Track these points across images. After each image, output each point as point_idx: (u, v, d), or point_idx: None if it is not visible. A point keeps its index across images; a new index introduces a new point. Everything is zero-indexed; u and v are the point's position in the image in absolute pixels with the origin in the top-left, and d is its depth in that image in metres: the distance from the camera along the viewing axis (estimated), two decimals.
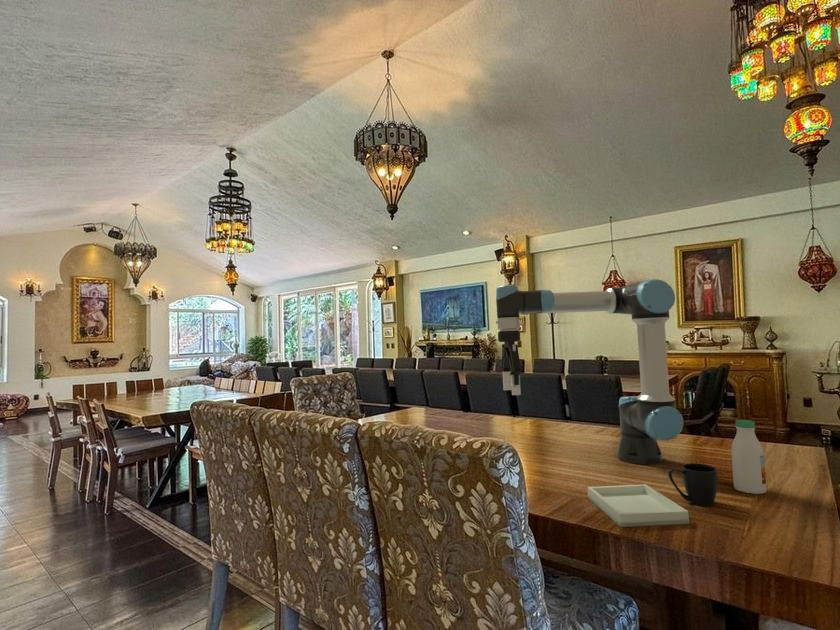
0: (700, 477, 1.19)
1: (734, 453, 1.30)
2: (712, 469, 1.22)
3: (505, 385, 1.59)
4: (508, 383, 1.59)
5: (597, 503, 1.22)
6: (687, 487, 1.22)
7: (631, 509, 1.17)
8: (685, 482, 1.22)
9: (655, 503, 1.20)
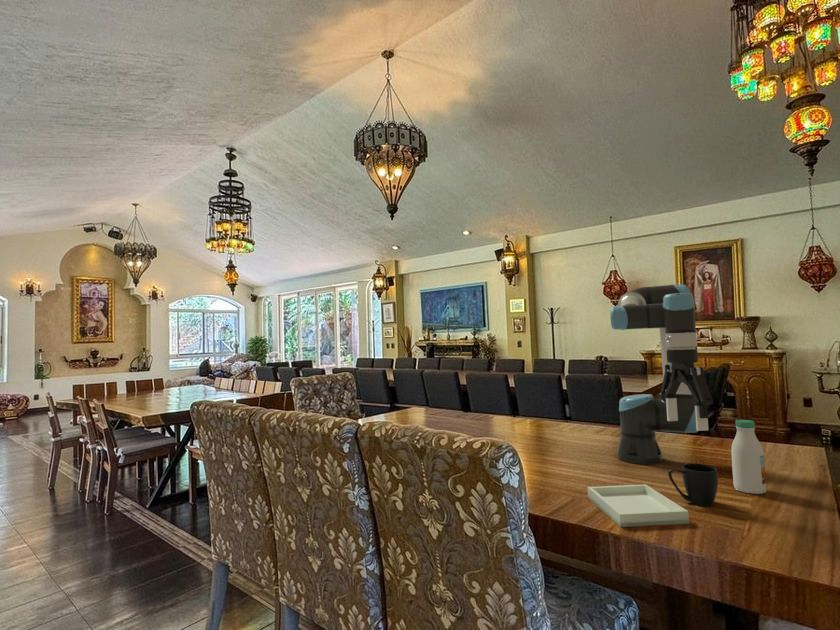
0: (700, 477, 1.19)
1: (734, 453, 1.30)
2: (712, 469, 1.22)
3: (670, 415, 1.30)
4: (674, 412, 1.30)
5: (597, 503, 1.22)
6: (687, 487, 1.22)
7: (631, 509, 1.17)
8: (685, 482, 1.22)
9: (655, 503, 1.20)
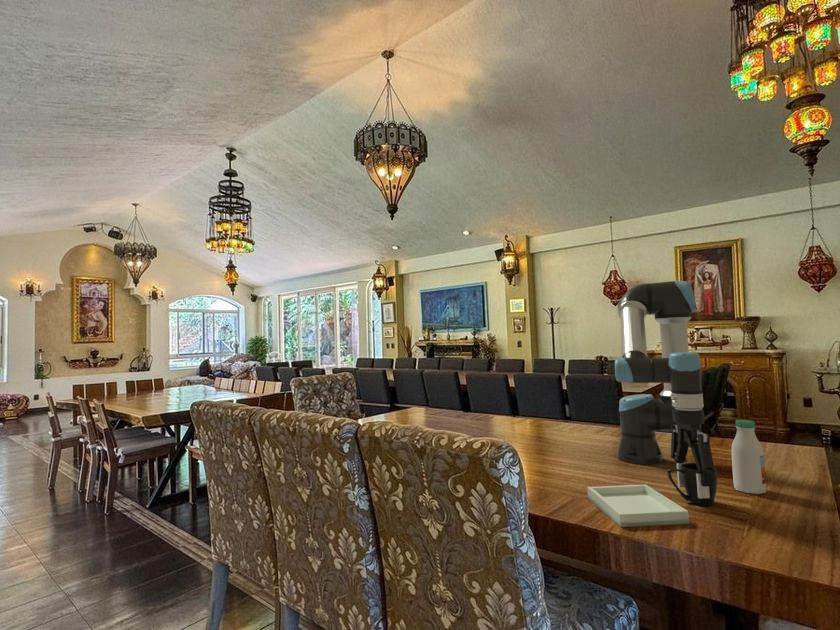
0: None
1: (734, 453, 1.30)
2: None
3: (681, 481, 1.26)
4: None
5: (597, 503, 1.22)
6: (687, 486, 1.22)
7: (631, 509, 1.17)
8: (684, 481, 1.23)
9: (655, 503, 1.20)
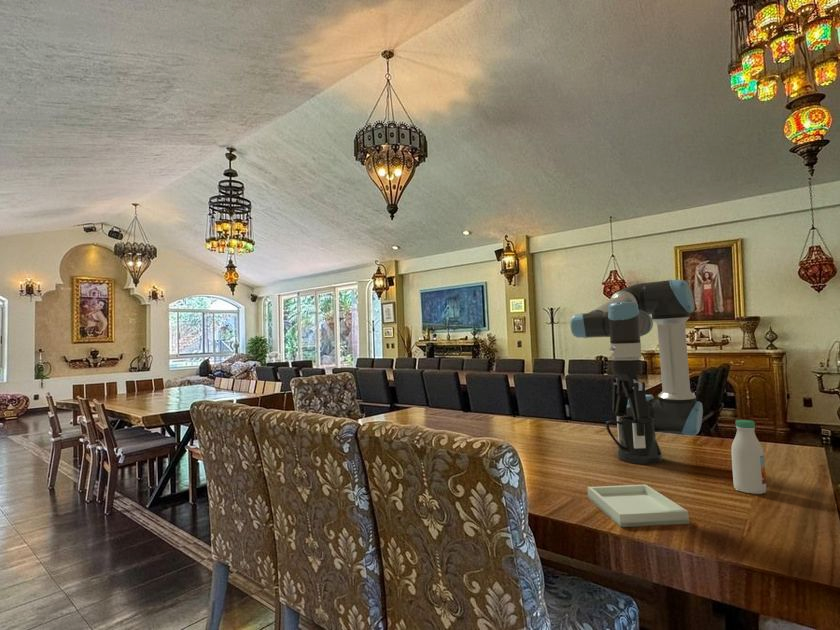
0: None
1: (734, 453, 1.30)
2: (650, 420, 1.20)
3: (621, 434, 1.24)
4: None
5: (597, 503, 1.22)
6: (624, 438, 1.19)
7: (631, 509, 1.17)
8: (622, 433, 1.20)
9: (655, 503, 1.20)
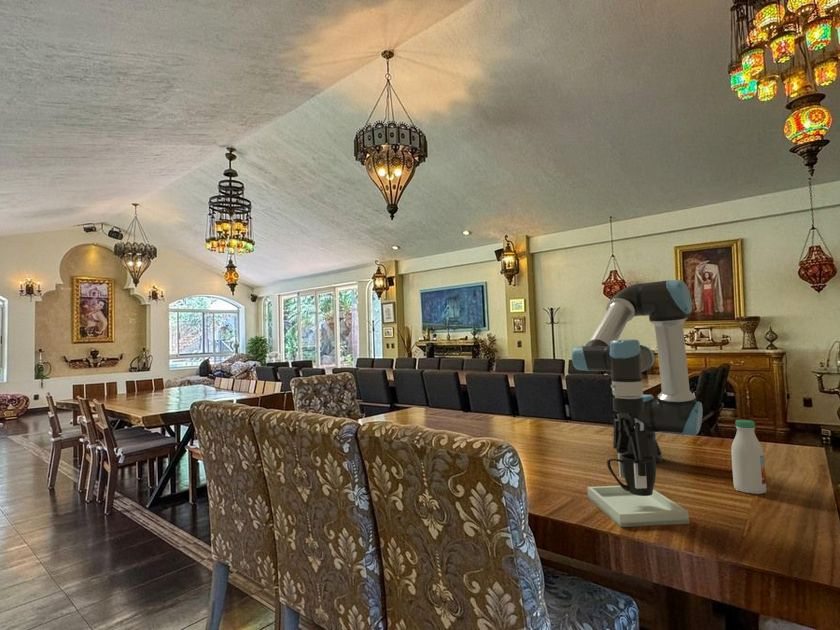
0: None
1: (734, 453, 1.30)
2: (651, 458, 1.20)
3: (622, 471, 1.23)
4: None
5: (597, 503, 1.22)
6: (625, 476, 1.19)
7: (631, 509, 1.17)
8: (624, 471, 1.19)
9: (655, 503, 1.20)
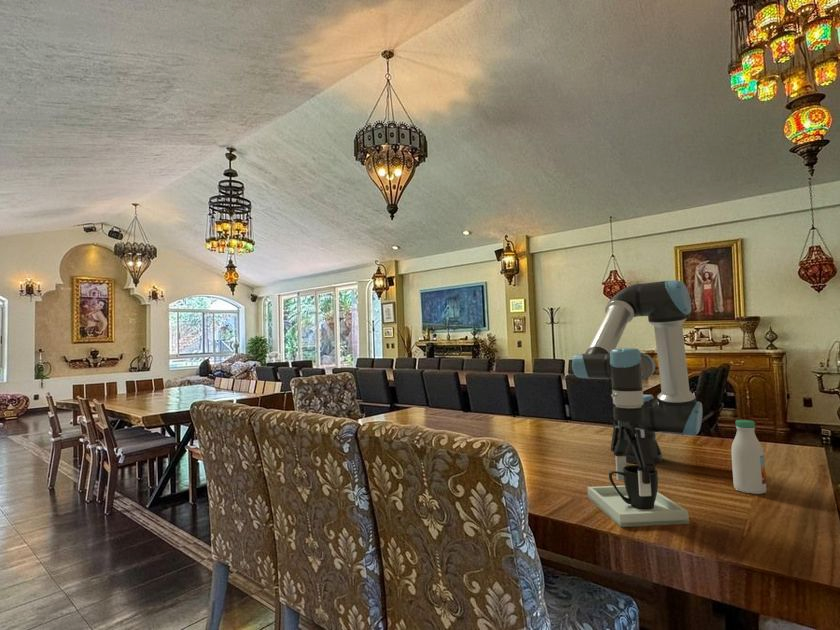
0: None
1: (734, 453, 1.30)
2: (653, 471, 1.19)
3: (619, 474, 1.25)
4: None
5: (597, 503, 1.22)
6: (627, 489, 1.19)
7: (631, 509, 1.17)
8: (625, 484, 1.19)
9: (655, 503, 1.20)
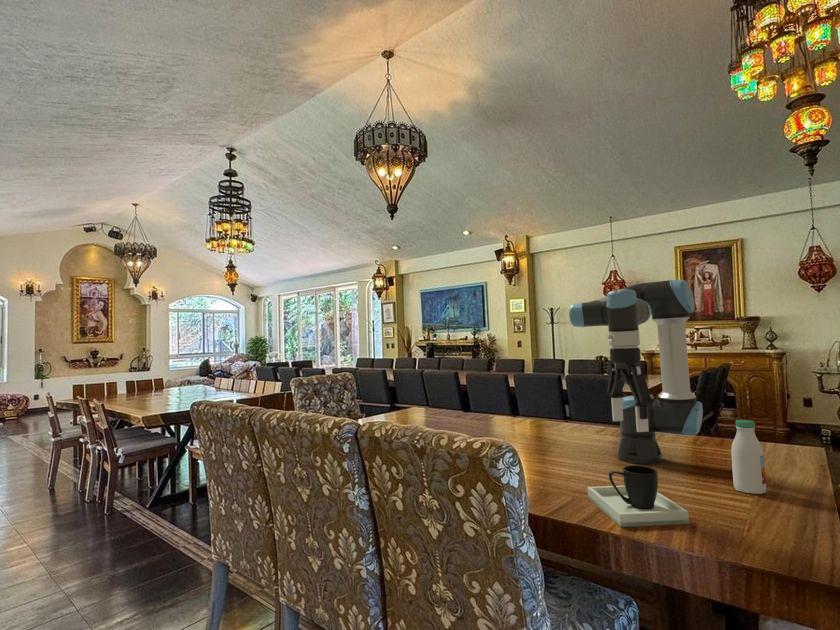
0: (639, 479, 1.16)
1: (734, 453, 1.30)
2: (653, 471, 1.19)
3: (615, 415, 1.27)
4: (619, 412, 1.27)
5: (597, 503, 1.22)
6: (627, 490, 1.19)
7: (631, 509, 1.17)
8: (625, 484, 1.19)
9: (655, 503, 1.20)
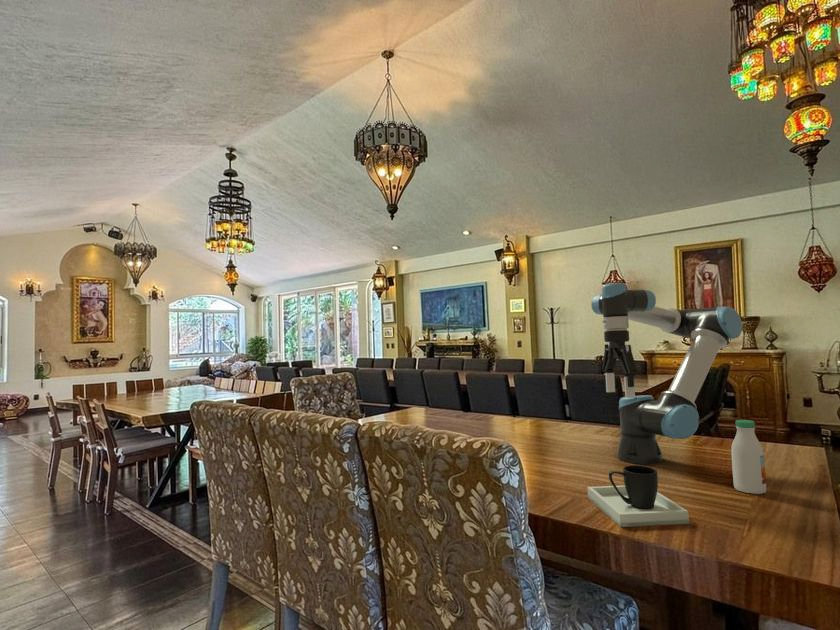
0: (639, 479, 1.16)
1: (734, 453, 1.30)
2: (653, 471, 1.19)
3: (609, 387, 1.53)
4: (612, 385, 1.53)
5: (597, 503, 1.22)
6: (627, 490, 1.19)
7: (631, 509, 1.17)
8: (625, 484, 1.19)
9: (655, 503, 1.20)
